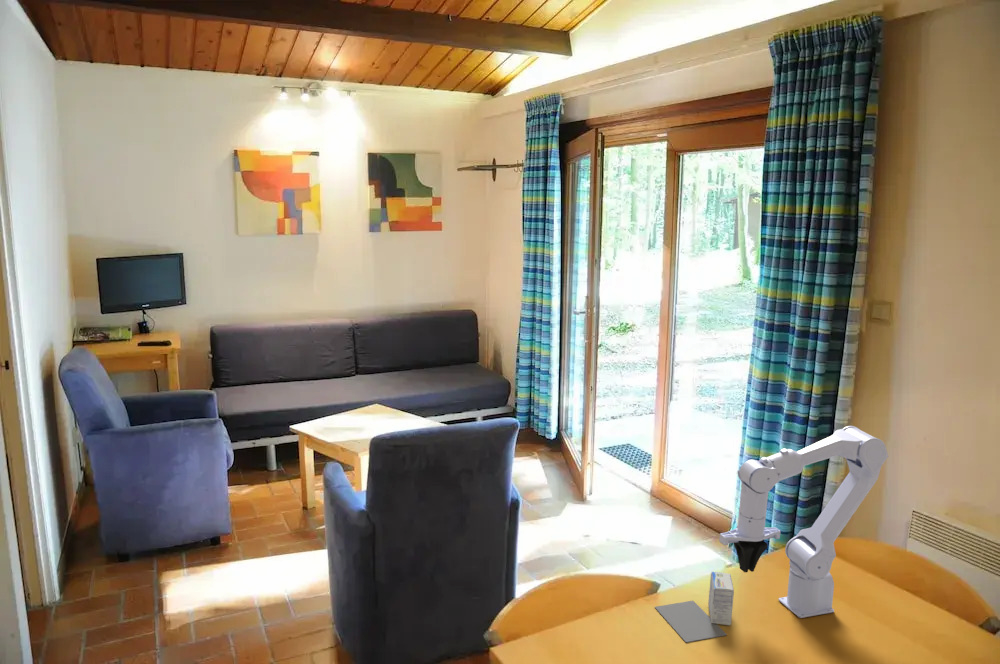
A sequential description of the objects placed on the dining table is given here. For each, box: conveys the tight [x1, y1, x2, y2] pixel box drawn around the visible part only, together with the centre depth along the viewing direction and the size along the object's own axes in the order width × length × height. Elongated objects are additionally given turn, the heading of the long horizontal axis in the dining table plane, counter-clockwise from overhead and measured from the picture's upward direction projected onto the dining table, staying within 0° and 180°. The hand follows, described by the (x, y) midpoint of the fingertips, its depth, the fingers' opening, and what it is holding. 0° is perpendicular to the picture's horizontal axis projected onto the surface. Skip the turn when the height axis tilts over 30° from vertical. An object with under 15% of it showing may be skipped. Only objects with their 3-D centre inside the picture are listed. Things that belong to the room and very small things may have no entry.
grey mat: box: [654, 600, 728, 644], centre depth 165 cm, size 10×14×1 cm
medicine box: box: [707, 571, 735, 626], centre depth 166 cm, size 8×4×9 cm, turn 168°
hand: (746, 569), depth 167 cm, fingers closed
